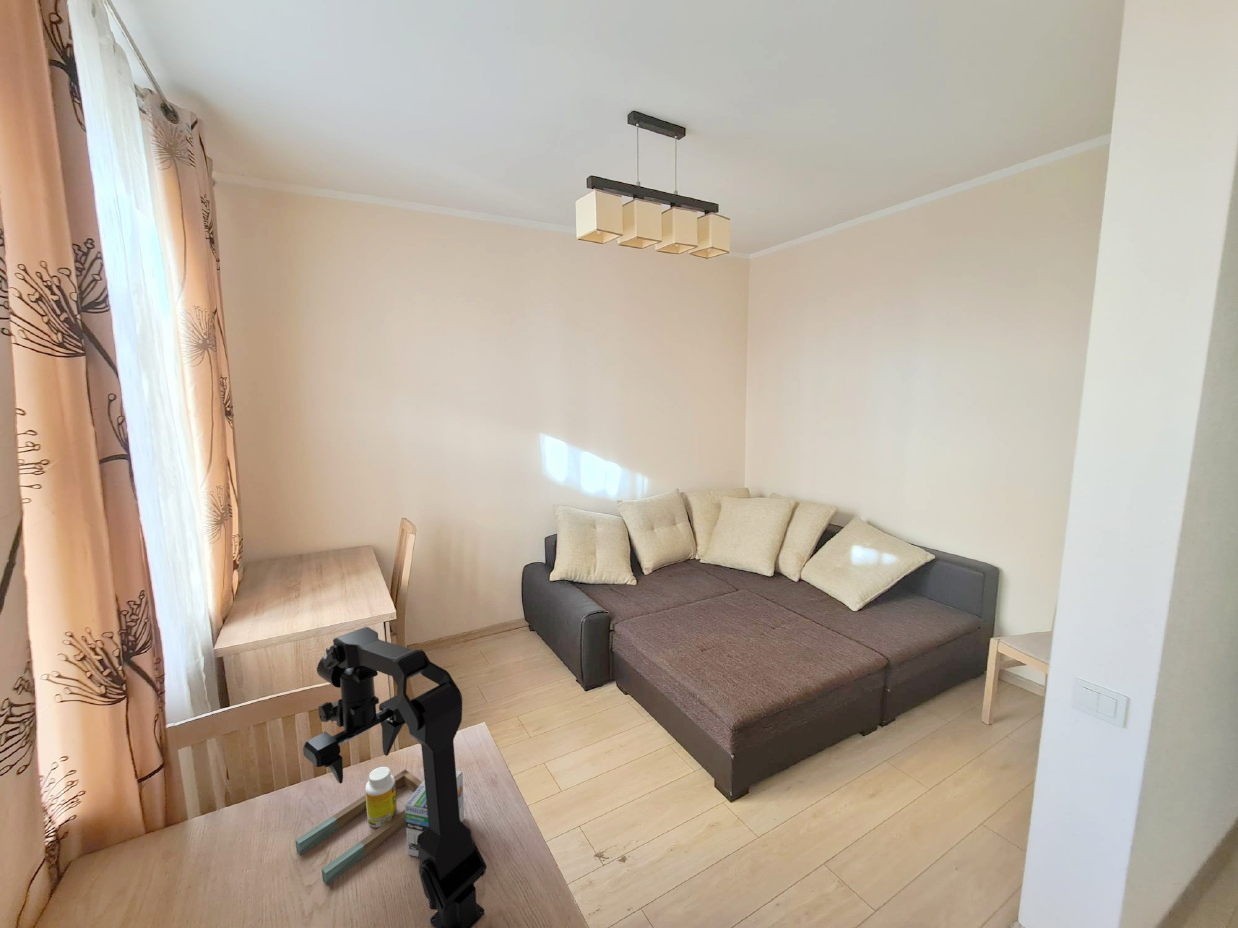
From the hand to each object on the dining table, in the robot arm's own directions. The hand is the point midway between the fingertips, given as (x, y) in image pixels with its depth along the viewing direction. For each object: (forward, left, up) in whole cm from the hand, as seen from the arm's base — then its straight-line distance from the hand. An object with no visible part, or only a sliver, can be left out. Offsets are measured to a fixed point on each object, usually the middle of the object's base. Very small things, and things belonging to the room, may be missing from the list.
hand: (363, 767), depth 101 cm
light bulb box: (-11, -8, -15) cm, 20 cm away
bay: (+2, -1, -14) cm, 15 cm away
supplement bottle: (+2, -4, -15) cm, 15 cm away
